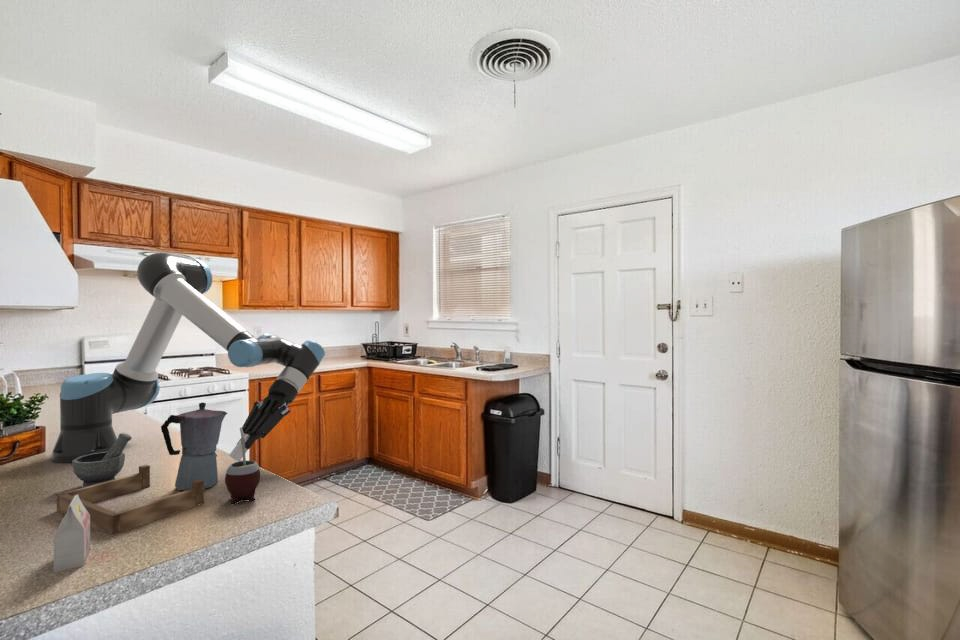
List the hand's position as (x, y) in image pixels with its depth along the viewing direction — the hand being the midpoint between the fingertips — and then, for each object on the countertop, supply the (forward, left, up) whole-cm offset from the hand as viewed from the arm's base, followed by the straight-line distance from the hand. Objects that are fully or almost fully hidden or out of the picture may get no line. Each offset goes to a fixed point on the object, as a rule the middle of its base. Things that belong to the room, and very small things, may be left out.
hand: (234, 458), depth 122 cm
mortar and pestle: (-3, -29, -4) cm, 29 cm away
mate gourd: (+19, +3, -4) cm, 20 cm away
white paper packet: (+38, -21, -4) cm, 44 cm away
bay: (+16, -18, -4) cm, 24 cm away
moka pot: (+7, -8, -4) cm, 11 cm away
